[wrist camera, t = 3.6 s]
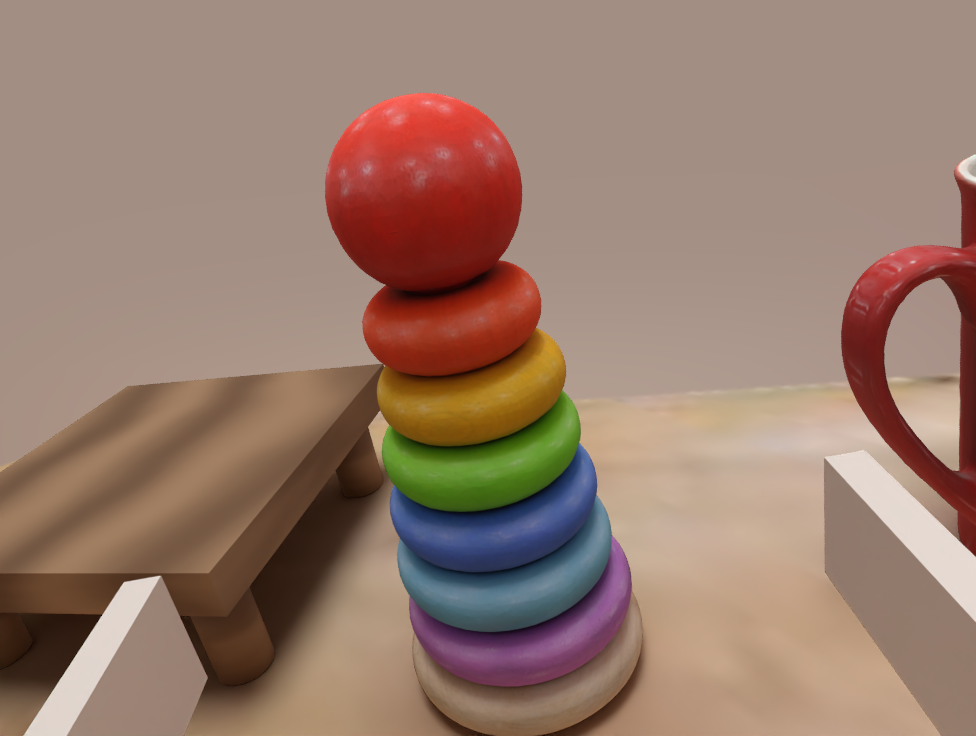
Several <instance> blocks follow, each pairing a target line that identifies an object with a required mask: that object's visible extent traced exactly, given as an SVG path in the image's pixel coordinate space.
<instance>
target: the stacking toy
mask: <svg viewBox="0 0 976 736" xmlns="http://www.w3.org/2000/svg"><path fill="white" fill-rule="evenodd" d="M325 199H326V206H327V213H328V216H329V219H330V222H331V225H332V229H333V230H334V232H335V234H336V236H337V238H338V239H339V242H340V244H341V245H342V247H343V249H344V250H345V252H346V253H347V254H348V256H349V257H350V258H351V259H352V260H353V261H354V262H355V263H356V265H357V266H358V267H359V268H360V269H362V270H363V271H364V272H365V273H367V274H368V275H370V276H371V277H373V278H374V279H376V280H377V281H379V282H381V283H383V284H385V285H386V286H384V287H383V288H382V289H381V290H380V291H379V292H378V293H377V294H376V295H375V296H374V297H373V298H372V299H371V301H370V302H369V304H368V306H367V308H366V310H365V313H364V316H363V321H362V323H363V334H364V338H365V341H366V343H367V345H368V347H369V349H370V350H371V352H372V353H373V354H374V356H375V357H376V358H377V359H378V360H379V361H380V362H381V363H383V364H384V365H386V366H385V367H384V369H383V371H382V372H381V375H380V378H379V380H378V384H377V399H378V404H379V407H380V410H381V412H382V414H383V416H384V418H385V420H386V421H387V422H388V424H389V427H388V429H387V431H386V433H385V436H384V439H383V445H382V457H383V462H384V466H385V469H386V472H387V474H388V476H389V478H390V479H391V481H392V483H393V484H394V487H393V489H392V493H391V499H390V512H391V517H392V521H393V525H394V527H395V529H396V532H397V533H398V535H399V537H400V540H399V545H398V553H397V559H398V567H399V572H400V577H401V579H402V582H403V584H404V587H405V588H406V590H407V592H408V594H409V595H410V597H409V610H410V619H411V623H412V626H413V630H414V637H413V647H412V649H413V661H414V667H415V671H416V674H417V677H418V680H419V682H420V684H421V686H422V688H423V690H424V691H425V693H426V694H427V696H428V697H429V699H430V700H431V701H432V702H433V703H434V705H435V706H436V707H437V708H438V709H439V710H440V711H441V712H443V713H444V714H445V715H446V716H447V717H449V718H450V719H452V720H454V721H455V722H457V723H459V724H460V725H462V726H464V727H467V728H469V729H472V730H474V731H477V732H480V733H484V734H488V735H494V736H538V735H543V734H548V733H552V732H556V731H559V730H562V729H565V728H567V727H570V726H572V725H574V724H576V723H579V722H580V721H582V720H584V719H586V718H587V717H589V716H591V715H592V714H594V713H595V712H597V711H598V710H600V709H601V708H602V707H604V706H605V705H606V704H607V703H608V702H609V701H610V700H612V699H613V698H614V697H615V696H616V695H617V694H618V693H619V691H620V690H621V689H622V688H623V687H624V685H625V684H626V682H627V681H628V679H629V678H630V676H631V675H632V673H633V671H634V669H635V666H636V664H637V661H638V658H639V655H640V650H641V645H642V619H641V613H640V609H639V606H638V603H637V600H636V598H635V596H634V594H633V592H632V590H631V589H632V582H631V572H630V567H629V564H628V561H627V558H626V556H625V554H624V551H623V549H622V548H621V546H620V544H619V543H618V542H617V540H616V539H615V538H614V537H613V536H612V533H611V525H610V521H609V517H608V514H607V512H606V509H605V507H604V506H603V504H602V502H601V500H600V499H599V498H598V496H597V495H596V493H597V477H596V472H595V468H594V465H593V462H592V460H591V458H590V456H589V454H588V453H587V451H586V450H585V449H584V448H583V447H582V445H581V444H580V443H579V441H580V434H581V429H580V420H579V416H578V412H577V410H576V407H575V405H574V403H573V402H572V400H571V399H570V398H569V397H568V396H567V394H566V393H565V392H564V391H563V390H562V389H563V387H564V383H565V377H566V365H565V360H564V357H563V354H562V352H561V350H560V348H559V346H558V345H557V343H556V342H555V341H554V340H553V339H552V338H551V337H550V336H549V335H547V334H546V333H544V332H543V331H541V330H539V329H538V328H536V326H537V324H538V321H539V318H540V315H541V297H540V294H539V290H538V288H537V285H536V283H535V281H534V280H533V279H532V277H531V276H530V275H529V274H528V273H527V272H526V271H524V270H523V269H522V268H520V267H518V266H516V265H514V264H511V263H509V262H506V261H499V258H500V257H501V256H502V254H503V253H504V252H505V251H506V249H507V248H508V246H509V244H510V242H511V240H512V238H513V236H514V233H515V231H516V228H517V226H518V222H519V216H520V212H521V204H522V183H521V176H520V171H519V168H518V165H517V161H516V158H515V156H514V154H513V151H512V149H511V147H510V145H509V143H508V141H507V139H506V138H505V136H504V134H503V133H502V132H501V131H500V130H499V128H498V127H497V126H496V125H495V124H494V122H493V121H491V120H490V119H489V118H488V117H487V116H486V115H485V114H483V113H482V112H480V111H479V110H478V109H476V108H475V107H473V106H471V105H469V104H468V103H466V102H463V101H461V100H458V99H455V98H453V97H449V96H446V95H439V94H431V93H418V94H408V95H403V96H398V97H395V98H392V99H388V100H386V101H383V102H381V103H379V104H377V105H375V106H373V107H372V108H370V109H368V110H367V111H365V112H364V113H362V114H361V115H360V116H359V117H358V118H357V119H356V120H354V121H353V122H352V124H351V125H350V126H349V127H348V128H347V129H346V130H345V132H344V133H343V135H342V136H341V138H340V140H339V141H338V143H337V144H336V146H335V148H334V150H333V153H332V155H331V158H330V161H329V164H328V168H327V173H326V180H325Z"/></svg>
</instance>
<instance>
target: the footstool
mask: <svg viewBox="0 0 976 736" xmlns="http://www.w3.org/2000/svg"><path fill="white" fill-rule="evenodd" d="M383 369H384V366H383V364H376V365H365V366H353V367H343V368H331V369H319V370H308V371H296V372H286V373H275V374H262V375H252V376H240V377H228V378H217V379H206V380H194V381H183V382H172V383H160V384H149V385H138V386H128V387H126V388H125V389H123V390H122V391H120V392H119V393H117V394H116V395H114V396H113V397H111V398H110V399H108V400H107V401H105V402H104V403H102V404H101V405H99V406H98V407H97V408H95V409H93V410H92V411H90V412H89V413H87V414H86V415H85V416H83V417H82V418H80V419H79V420H77V421H76V422H74V423H73V424H71V425H70V426H68V427H67V428H65V429H64V430H62V431H61V432H59V433H58V434H56V435H55V436H53V437H52V438H51V439H49V440H48V441H46V442H44V443H43V444H42V445H40V446H39V447H37V448H36V449H34V450H33V451H31V452H30V453H28V454H27V455H25V456H24V457H22V458H21V459H19V460H18V461H16V462H15V463H13V464H12V465H10V466H9V467H7V468H6V469H4V470H3V471H1V472H0V669H2V668H4V667H6V666H8V665H10V664H12V663H13V662H15V661H16V660H17V659H19V658H20V657H21V656H22V655H23V654H24V653H25V652H26V651H27V650H28V649H29V647H30V646H31V643H32V637H31V635H30V634H29V632H28V630H27V628H26V627H25V625H24V623H23V621H22V620H21V618H20V616H19V614H18V613H53V614H103V613H104V612H105V610H106V609H107V607H108V606H109V604H110V603H111V601H112V600H113V598H114V597H115V595H116V594H117V592H118V590H119V589H120V587H121V586H122V584H123V583H124V582H128V581H133V580H139V579H145V578H150V577H156V576H161V577H162V579H163V581H164V583H165V585H166V588H167V590H168V592H169V594H170V596H171V599H172V601H173V603H174V605H175V607H176V609H177V612H178V614H179V616H190V618H191V620H192V622H193V624H194V626H195V629H196V631H197V633H198V635H199V638H200V640H201V642H202V644H203V646H204V649H205V651H206V653H207V655H208V658H209V660H210V662H211V664H212V667H213V669H214V671H215V673H216V675H217V678H218V680H219V681H220V682H221V683H222V684H225V685H229V686H236V685H241V684H245V683H247V682H250V681H252V680H254V679H255V678H257V677H258V676H260V675H261V674H262V673H264V672H265V671H266V670H267V669H268V667H269V666H270V665H271V663H272V661H273V659H274V656H275V650H274V647H273V645H272V642H271V640H270V637H269V635H268V632H267V630H266V627H265V625H264V622H263V620H262V617H261V615H260V612H259V610H258V607H257V605H256V602H255V599H254V597H253V594H252V592H251V589H250V585H251V584H252V582H253V581H254V580H255V578H256V577H257V576H258V574H259V573H260V572H261V570H262V569H263V568H264V566H265V565H266V564H267V562H268V561H269V560H270V558H271V557H272V555H273V554H274V553H275V551H276V550H277V549H278V547H279V546H280V545H281V543H282V542H283V541H284V539H285V538H286V537H287V535H288V534H289V533H290V531H291V530H292V528H293V527H294V526H295V524H296V523H297V522H298V520H299V519H300V518H301V516H302V515H303V514H304V512H305V511H306V510H307V508H308V507H309V506H310V504H311V503H312V501H313V500H314V499H315V497H316V496H317V495H318V493H319V492H320V491H321V489H322V488H323V487H324V485H325V484H326V483H327V481H328V480H329V479H330V477H331V476H332V474H333V473H334V472H335V470H336V473H337V476H338V480H339V483H340V486H341V489H342V492H343V494H344V495H345V496H347V497H362V496H365V495H368V494H370V493H372V492H374V491H376V490H377V489H378V488H379V487H380V486H381V485H382V483H383V478H382V474H381V471H380V467H379V464H378V460H377V457H376V453H375V450H374V446H373V443H372V439H371V436H370V432H369V429H368V426H369V425H370V423H371V422H372V420H373V419H374V418H375V416H376V415H377V414H378V412H379V411H380V407H379V404H378V399H377V384H378V380H379V378H380V375H381V372H382V371H383Z"/></svg>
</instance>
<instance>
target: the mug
mask: <svg viewBox="0 0 976 736" xmlns="http://www.w3.org/2000/svg"><path fill="white" fill-rule="evenodd" d="M954 176H955V179H956V182H957V184H958V187H959V189H960V192H961V204H962V221H961V222H962V223H961V248H952V247H946V246H934V245H926V246H914V247H909V248H904V249H900V250H898V251H895V252H893V253H890V254H888V255H887V256H885V257H883V258H881V259H880V260H878V261H877V262H876V263H874V264H873V265H872V266H871V267H869V268H868V269H867V270H866V271H865V272H864V273H863V274H862V276H861V277H860V278H859V279H858V281H857V283H856V284H855V286H854V287H853V289H852V291H851V293H850V296H849V298H848V301H847V303H846V307H845V310H844V315H843V323H842V331H841V339H842V340H841V342H842V343H841V344H842V356H843V362H844V368H845V371H846V374H847V378H848V381H849V384H850V387H851V389H852V391H853V393H854V396H855V398H856V400H857V402H858V404H859V405H860V407H861V408H862V410H863V412H864V413H865V415H866V416H867V418H868V419H869V421H870V422H871V424H872V425H873V426H874V427H875V429H876V430H877V431H878V433H879V434H880V435H881V437H882V438H883V439H884V441H885V442H886V443H887V444H888V445H889V446H890V447H891V448H892V450H893V451H894V452H896V453H897V454H898V456H899V457H900V458H901V459H902V460H903V461H904V463H905V464H907V465H908V466H909V467H910V468H911V469H912V470H913V471H914V472H915V473H916V474H917V475H918V476H919V477H920V478H921V479H923V480H924V481H925V482H926V483H927V484H928V485H929V486H930V487H932V488H933V489H934V490H935V491H936V492H937V493H938V494H939V495H940V496H941V497H942V498H943V499H945V500H946V501H947V502H948V503H949V504H950V505H951V506H952V507H953V508H954V509H956V510H957V511H958V531H959V535H960V539H961V541H962V544H963V545H964V546H965V547H966V548H967V549H968V550H969V551H970V552H971V553H972V554H973V555H974V556H975V557H976V155H973V156H971V157H969V158H966V159H964V160H963V161H961V162H960V163H959V164H958V165H957V166H956V168H955V170H954ZM935 278H941V279H942V280H944V281H945V283H946V284H947V285H948V286H949V288H950V289H951V291H952V292H953V294H954V296H955V298H956V301H957V304H958V307H959V310H960V312H961V340H960V341H961V344H960V345H961V355H960V437H959V471H952V470H950V469H949V468H948V467H946V466H945V465H944V464H943V463H942V462H941V461H940V460H939V459H937V458H936V457H935V456H934V455H933V454H932V453H931V452H930V451H929V450H928V449H927V447H926V446H925V445H924V444H923V443H922V441H921V440H920V439H919V438H918V437H917V436H916V435H915V433H914V432H913V430H912V429H911V428H910V427H909V425H908V424H907V423H906V421H905V420H904V418H903V417H902V415H901V414H900V412H899V410H898V408H897V407H896V405H895V402H894V400H893V398H892V396H891V393H890V390H889V388H888V384H887V379H886V373H885V366H884V346H885V341H886V335H887V331H888V328H889V326H890V322H891V320H892V318H893V315H894V314H895V312H896V310H897V308H898V306H899V305H900V303H902V301H903V300H904V299H905V297H906V296H907V295H908V294H909V293H910V292H911V291H912V290H913V289H914V288H915V287H917V286H918V285H920V284H922V283H923V282H925V281H928V280H931V279H935Z"/></svg>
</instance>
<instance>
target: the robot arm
mask: <svg viewBox="0 0 976 736" xmlns="http://www.w3.org/2000/svg"><path fill="white" fill-rule="evenodd" d="M824 514H825V573H826V574H827V576H828V577H829V579H830V580H831V581H832V583H833V584H834V586H835V587H836V588H837V590H838V591H839V593H840V594H841V595H842V597H843V598H844V600H845V601H846V602H847V604H848V605H849V607H850V608H851V609H852V611H853V612H854V614H855V615H856V616H857V618H858V619H859V621H860V622H861V623H862V625H863V626H864V628H865V629H866V630H867V632H868V633H869V635H870V636H871V637H872V639H873V640H874V642H875V643H876V644H877V646H878V647H879V649H880V650H881V651H882V653H883V654H884V656H885V657H886V658H887V660H888V661H889V663H890V664H891V666H892V667H893V668H894V670H895V671H896V673H897V674H898V675H899V677H900V678H901V680H902V681H903V682H904V684H905V685H906V687H907V688H908V689H909V691H910V692H911V694H912V695H913V696H914V698H915V699H916V701H917V702H918V703H919V705H920V706H921V708H922V709H923V710H924V712H925V713H926V715H927V716H928V717H929V719H930V720H931V722H932V723H933V724H934V726H935V727H936V729H937V730H938V731H939V733H940V734H941V736H976V557H975V556H974V555H973V554H972V553H971V552H970V551H969V550H968V549H967V548H966V547H965V546H964V545H963V544H962V543H961V542H960V541H959V540H958V539H957V538H956V537H954V536H953V535H952V534H951V533H950V532H949V531H948V530H947V529H946V528H945V527H944V526H943V525H942V524H941V523H940V522H939V521H938V520H937V519H936V518H935V517H934V516H933V515H932V514H931V513H929V512H928V511H927V510H926V509H925V508H924V507H923V506H922V505H921V504H920V503H919V502H918V501H917V500H916V499H915V498H914V497H913V496H912V495H911V494H910V493H909V492H908V491H907V490H906V489H904V488H903V487H902V486H901V485H900V484H899V483H898V482H897V481H896V480H895V479H894V478H893V477H892V476H891V475H890V474H889V473H888V472H887V471H886V470H885V469H884V468H883V467H882V466H881V465H879V464H878V463H877V462H876V461H875V460H874V459H873V458H872V457H871V456H870V455H869V454H868V453H867V452H866V451H865V450H862V451H857V452H851V453H845V454H840V455H834V456H829V457H824ZM207 679H208V677H207V675H206V673H205V671H204V669H203V666H202V664H201V662H200V660H199V658H198V655H197V653H196V651H195V649H194V647H193V645H192V642H191V640H190V638H189V636H188V634H187V631H186V629H185V627H184V625H183V623H182V620H181V618H180V616H179V614H178V612H177V609H176V607H175V605H174V603H173V601H172V599H171V596H170V594H169V592H168V590H167V588H166V585H165V583H164V581H163V579H162V577H161V576H156V577H150V578H145V579H139V580H133V581H128V582H124V583H123V584H122V586H121V587H120V589H119V590H118V592H117V594H116V595H115V597H114V598H113V600H112V601H111V603H110V604H109V606H108V607H107V609H106V610H105V612H104V613H103V615H102V616H101V618H100V620H99V621H98V623H97V624H96V626H95V627H94V629H93V630H92V632H91V633H90V635H89V636H88V638H87V639H86V641H85V642H84V644H83V646H82V647H81V649H80V650H79V652H78V653H77V655H76V656H75V658H74V659H73V661H72V662H71V664H70V665H69V667H68V668H67V670H66V672H65V673H64V675H63V676H62V678H61V679H60V681H59V682H58V684H57V685H56V687H55V688H54V690H53V691H52V693H51V695H50V696H49V698H48V699H47V701H46V702H45V704H44V705H43V707H42V708H41V710H40V711H39V713H38V714H37V716H36V717H35V719H34V721H33V722H32V724H31V725H30V727H29V728H28V730H27V731H26V733H25V734H24V736H184V734H185V732H186V729H187V727H188V724H189V722H190V720H191V717H192V715H193V712H194V710H195V708H196V705H197V703H198V700H199V698H200V696H201V693H202V691H203V688H204V686H205V683H206V681H207Z"/></svg>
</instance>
